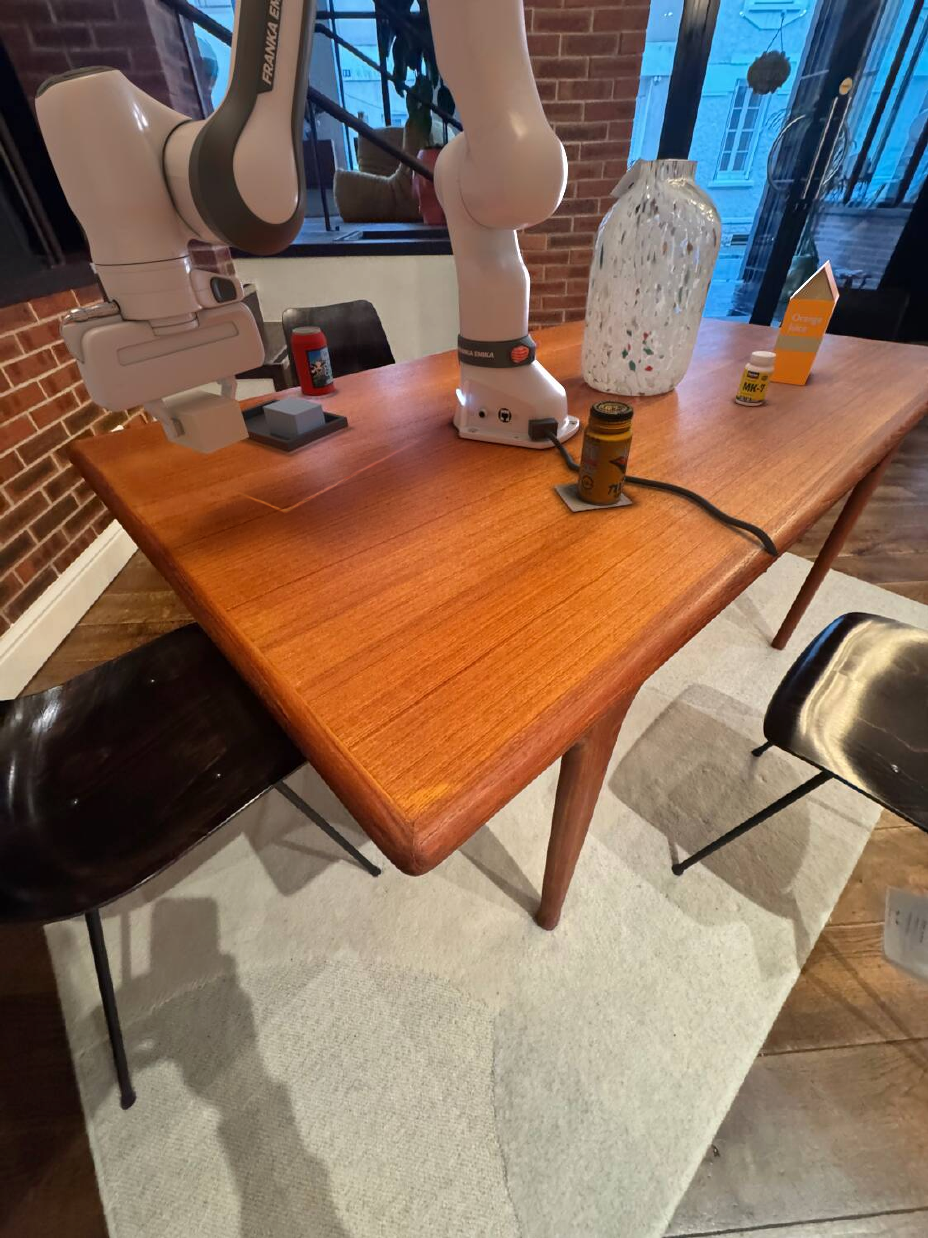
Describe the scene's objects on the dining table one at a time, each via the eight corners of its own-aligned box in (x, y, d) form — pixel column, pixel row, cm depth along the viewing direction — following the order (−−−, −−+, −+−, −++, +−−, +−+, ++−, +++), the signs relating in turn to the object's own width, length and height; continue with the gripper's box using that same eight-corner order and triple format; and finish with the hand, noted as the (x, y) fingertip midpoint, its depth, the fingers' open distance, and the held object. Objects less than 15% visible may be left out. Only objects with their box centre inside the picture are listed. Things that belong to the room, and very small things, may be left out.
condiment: (632, 504, 70) (651, 413, 62) (572, 512, 68) (584, 420, 60) (609, 480, 75) (623, 394, 67) (553, 488, 74) (561, 400, 66)
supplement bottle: (734, 404, 97) (749, 355, 92) (734, 397, 101) (749, 349, 95) (762, 407, 96) (779, 357, 90) (762, 399, 99) (778, 351, 94)
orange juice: (809, 374, 110) (853, 259, 97) (804, 385, 105) (850, 266, 92) (769, 369, 114) (806, 258, 101) (762, 380, 108) (800, 264, 95)
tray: (349, 428, 93) (347, 416, 92) (289, 455, 85) (286, 442, 84) (277, 409, 102) (274, 398, 101) (217, 432, 94) (213, 420, 93)
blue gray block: (326, 430, 91) (321, 404, 88) (300, 442, 88) (294, 414, 85) (296, 422, 95) (290, 396, 92) (269, 432, 91) (262, 406, 88)
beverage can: (327, 399, 106) (315, 333, 98) (297, 398, 107) (282, 333, 99) (340, 389, 111) (329, 325, 103) (310, 387, 112) (297, 325, 104)
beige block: (249, 437, 64) (237, 399, 61) (207, 454, 61) (192, 415, 58) (210, 425, 68) (197, 389, 65) (168, 441, 64) (152, 404, 61)
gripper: (66, 315, 46) (136, 463, 55) (253, 278, 59) (285, 404, 68) (34, 309, 49) (106, 451, 58) (219, 275, 62) (255, 396, 71)
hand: (204, 425), depth 63 cm, fingers closed on beige block, 6 cm apart
